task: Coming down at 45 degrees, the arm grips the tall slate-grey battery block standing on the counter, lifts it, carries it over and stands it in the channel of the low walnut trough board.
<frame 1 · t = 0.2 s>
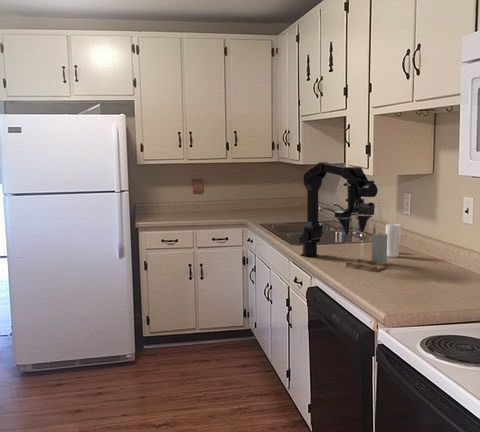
hand: (354, 233, 233), 14 cm above the worktop, tool pointing down, fingers open, 9 cm apart
medicine box: (381, 252, 265), on the worktop
walnut trough: (366, 267, 232), on the worktop
white cylinder: (392, 256, 254), on the worktop
battery block: (379, 263, 239), on the worktop
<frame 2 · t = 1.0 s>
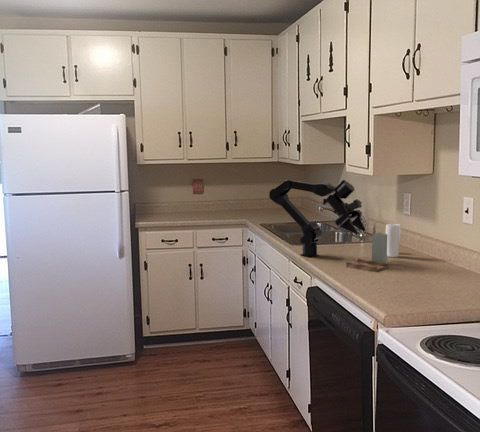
hand: (361, 232, 242), 13 cm above the worktop, tool tilted 45°, fingers open, 9 cm apart
nothing on the worktop moved.
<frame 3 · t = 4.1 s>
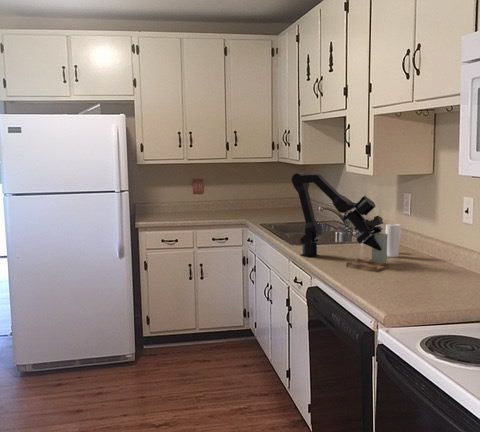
hand: (382, 249, 238), 7 cm above the worktop, tool tilted 45°, fingers closed on battery block, 5 cm apart
battery block: (379, 263, 239), on the worktop, touching gripper
everything else where it was.
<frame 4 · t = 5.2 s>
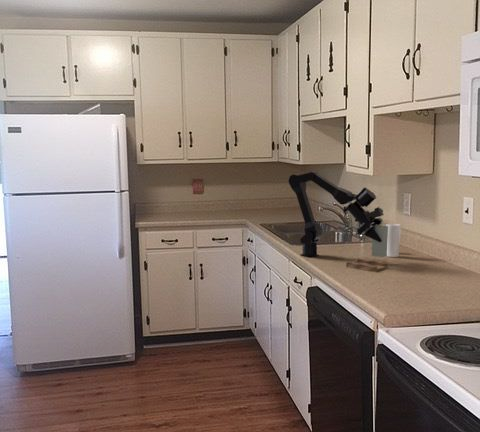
hand: (383, 240, 237), 10 cm above the worktop, tool tilted 45°, fingers closed on battery block, 5 cm apart
battery block: (379, 255, 239), point 4 cm above the worktop, touching gripper
everything else where it was.
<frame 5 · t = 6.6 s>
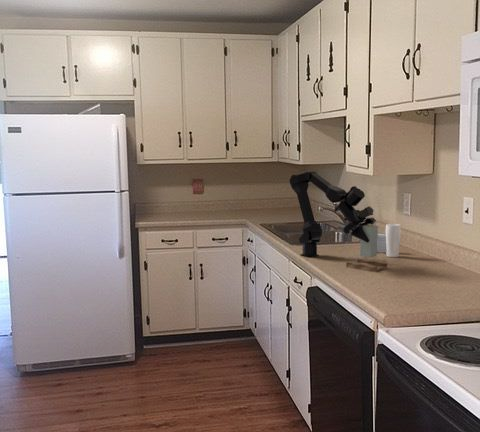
hand: (371, 241, 230), 11 cm above the worktop, tool tilted 45°, fingers closed on battery block, 5 cm apart
battery block: (368, 256, 232), point 5 cm above the worktop, touching gripper
everything else where it was.
when the fingers open (8 cm above the worktop, at t = 8.3 s): battery block stays where it is, resting on walnut trough.
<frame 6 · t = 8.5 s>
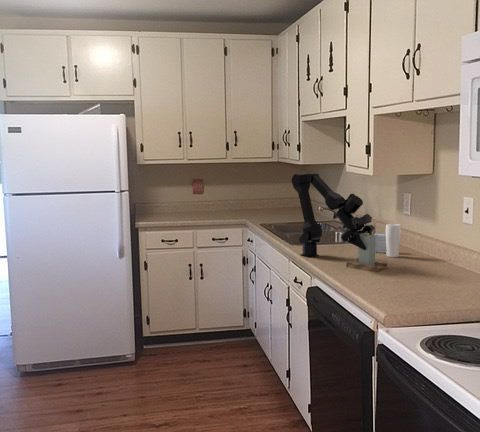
hand: (370, 248, 230), 8 cm above the worktop, tool tilted 45°, fingers open, 7 cm apart
battery block: (366, 265, 232), point 1 cm above the worktop, touching walnut trough
everything else where it was.
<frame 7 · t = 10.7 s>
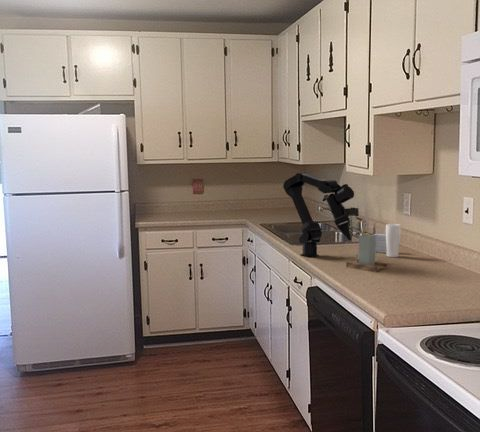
hand: (350, 239, 238), 11 cm above the worktop, tool tilted 25°, fingers open, 9 cm apart
nothing on the worktop moved.
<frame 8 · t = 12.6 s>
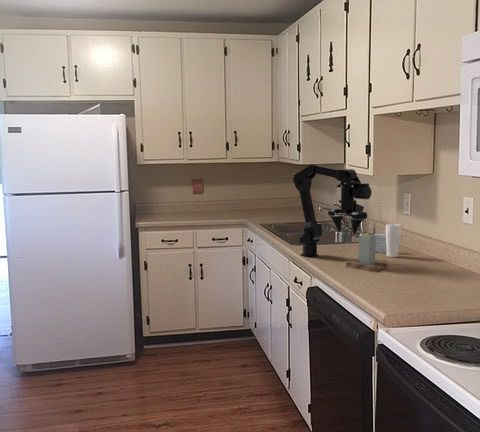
hand: (346, 233, 241), 13 cm above the worktop, tool pointing down, fingers open, 9 cm apart
nothing on the worktop moved.
at the end: battery block inside the target area on the walnut trough (0.1 cm from its centre), point 0.8 cm above the walnut trough's base; battery block tilted 0°; the gripper is holding nothing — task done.
